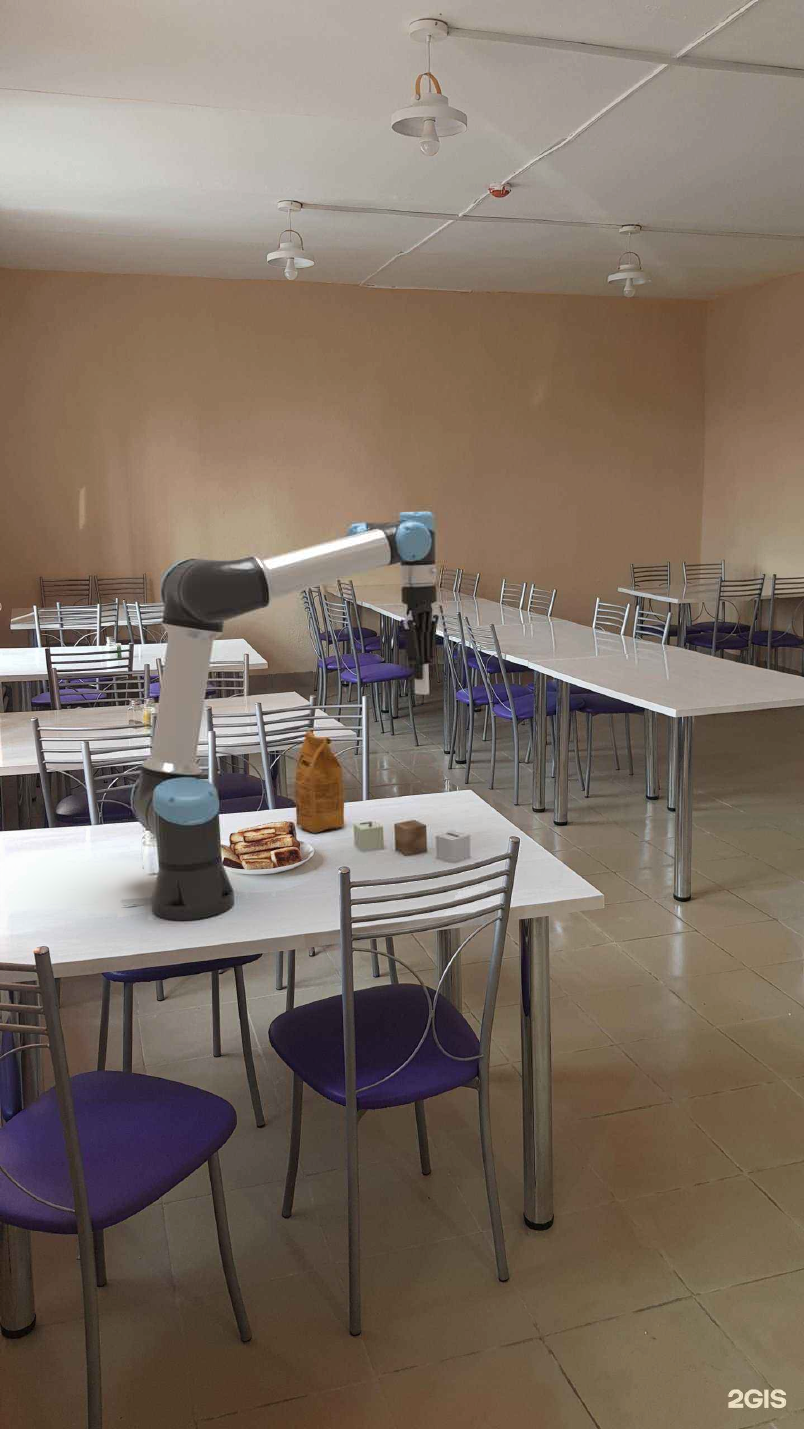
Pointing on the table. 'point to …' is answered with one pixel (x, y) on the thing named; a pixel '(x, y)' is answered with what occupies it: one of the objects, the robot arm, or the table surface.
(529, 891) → the table surface
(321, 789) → the coffee package
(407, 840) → the plain walnut block
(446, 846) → the grey numbered block
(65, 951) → the table surface
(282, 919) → the table surface
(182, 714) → the robot arm
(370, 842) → the sage numbered block
